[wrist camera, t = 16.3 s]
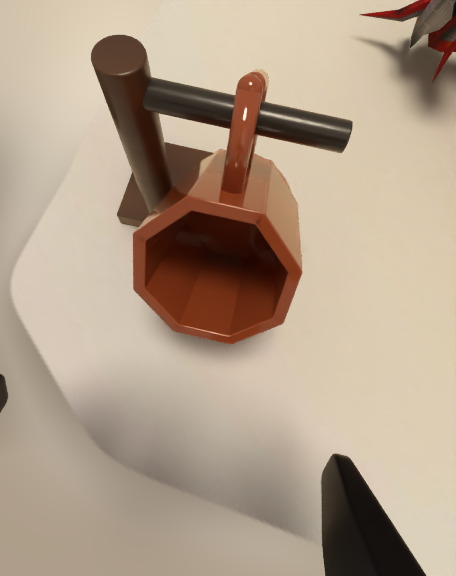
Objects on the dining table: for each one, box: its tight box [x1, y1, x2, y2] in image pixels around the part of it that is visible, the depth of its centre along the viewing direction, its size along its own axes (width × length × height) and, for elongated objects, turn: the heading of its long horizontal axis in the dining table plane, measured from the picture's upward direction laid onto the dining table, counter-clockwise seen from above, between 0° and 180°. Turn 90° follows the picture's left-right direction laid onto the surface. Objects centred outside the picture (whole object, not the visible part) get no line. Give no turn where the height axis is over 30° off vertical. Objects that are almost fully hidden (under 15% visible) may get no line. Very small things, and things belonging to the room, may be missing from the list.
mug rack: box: [91, 35, 352, 227], centre depth 19 cm, size 8×12×14 cm, turn 77°
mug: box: [133, 69, 302, 344], centre depth 16 cm, size 11×7×8 cm
